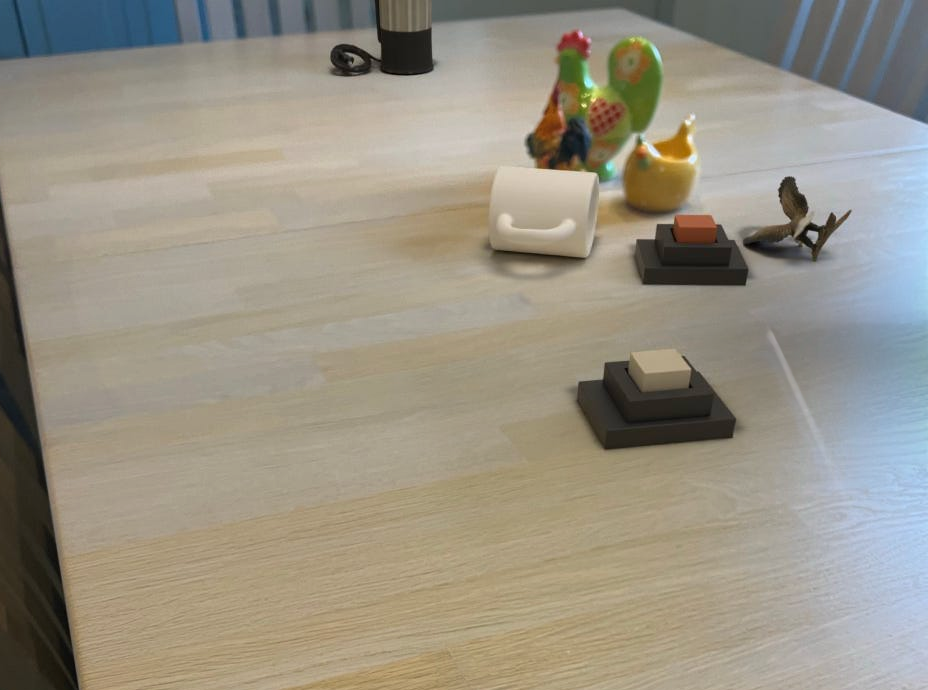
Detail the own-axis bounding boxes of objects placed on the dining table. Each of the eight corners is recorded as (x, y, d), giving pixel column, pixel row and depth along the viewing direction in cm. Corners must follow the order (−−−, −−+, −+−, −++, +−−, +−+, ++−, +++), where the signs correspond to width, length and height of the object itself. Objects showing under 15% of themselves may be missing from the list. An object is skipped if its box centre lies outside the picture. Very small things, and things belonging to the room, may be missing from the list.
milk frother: (446, 68, 171) (445, -36, 162) (378, 85, 163) (373, -25, 153) (387, 56, 179) (383, -44, 169) (320, 72, 170) (311, -34, 160)
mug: (504, 234, 110) (506, 156, 105) (595, 242, 108) (602, 162, 103) (477, 275, 101) (478, 191, 96) (576, 284, 99) (582, 200, 94)
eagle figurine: (851, 237, 105) (782, 200, 109) (854, 189, 99) (781, 151, 103) (800, 290, 105) (733, 251, 109) (800, 244, 99) (729, 205, 103)
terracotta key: (708, 232, 101) (711, 214, 100) (714, 245, 98) (717, 227, 97) (672, 232, 101) (674, 214, 100) (676, 245, 99) (679, 227, 97)
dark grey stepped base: (731, 256, 105) (737, 221, 102) (745, 286, 99) (752, 250, 96) (634, 255, 105) (638, 220, 103) (642, 285, 99) (646, 249, 97)
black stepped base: (695, 390, 82) (702, 349, 80) (732, 438, 76) (741, 396, 74) (576, 400, 81) (579, 359, 79) (604, 450, 75) (609, 408, 73)
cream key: (672, 369, 78) (675, 348, 77) (688, 390, 75) (691, 369, 74) (627, 373, 78) (630, 351, 77) (641, 395, 75) (644, 373, 74)
